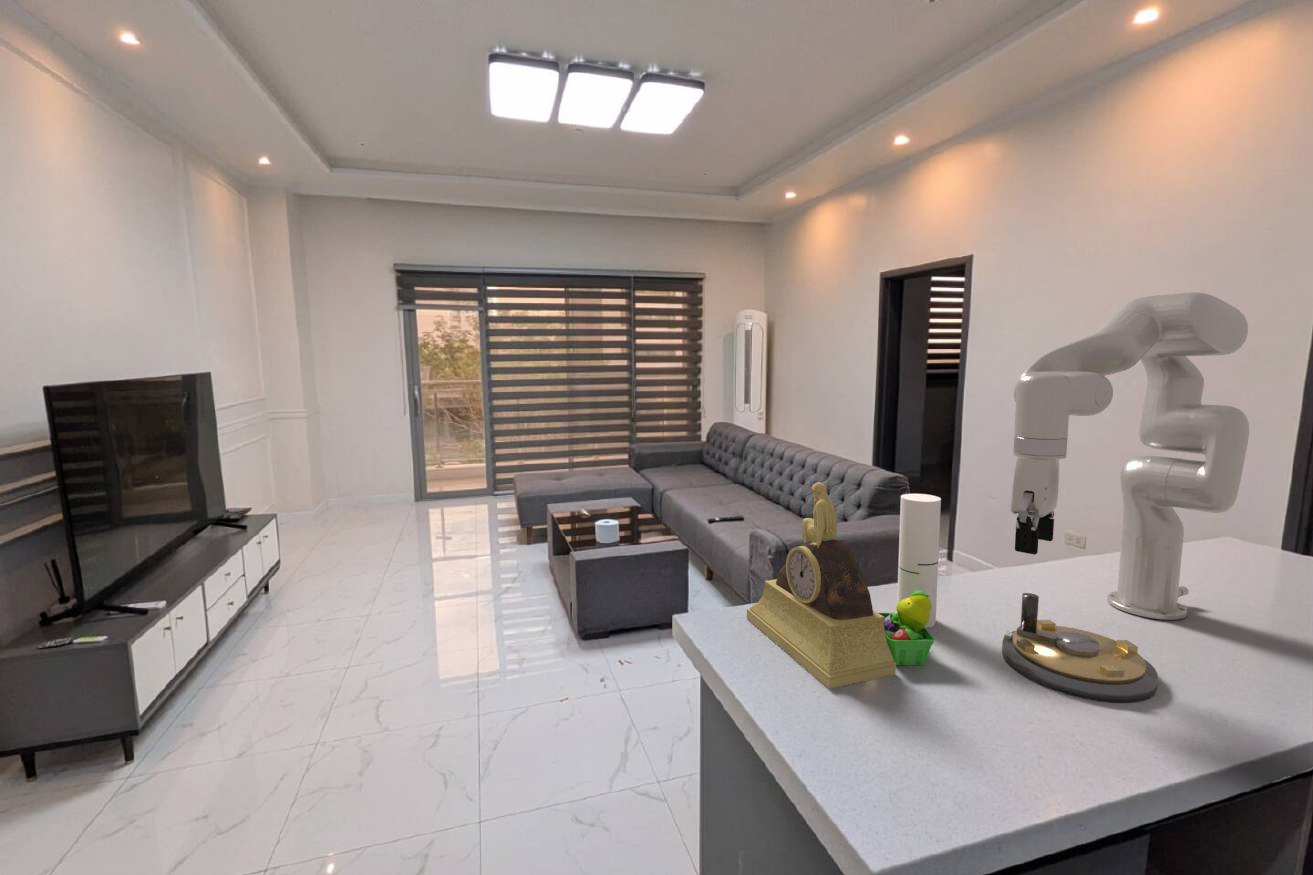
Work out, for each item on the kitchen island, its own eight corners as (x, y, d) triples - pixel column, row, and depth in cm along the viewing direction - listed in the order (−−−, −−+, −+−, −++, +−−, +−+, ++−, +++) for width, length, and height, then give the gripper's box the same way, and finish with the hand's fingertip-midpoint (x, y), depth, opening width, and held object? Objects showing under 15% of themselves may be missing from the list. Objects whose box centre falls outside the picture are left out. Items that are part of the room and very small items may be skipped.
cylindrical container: (939, 629, 113) (945, 502, 110) (900, 626, 114) (905, 501, 111) (930, 613, 120) (935, 494, 117) (893, 611, 121) (897, 493, 118)
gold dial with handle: (992, 630, 107) (994, 586, 106) (1093, 631, 106) (1097, 587, 105) (1053, 683, 89) (1057, 631, 88) (1176, 684, 88) (1181, 632, 87)
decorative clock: (746, 618, 119) (747, 473, 116) (801, 609, 123) (803, 469, 120) (829, 689, 93) (833, 504, 89) (895, 675, 97) (901, 497, 93)
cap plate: (1059, 631, 111) (1060, 618, 111) (1189, 687, 91) (1191, 671, 91) (973, 649, 104) (974, 635, 104) (1094, 714, 85) (1095, 697, 84)
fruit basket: (867, 638, 110) (868, 580, 108) (915, 638, 109) (917, 580, 108) (889, 669, 98) (891, 605, 97) (942, 669, 98) (945, 605, 97)
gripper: (1028, 440, 107) (1023, 531, 109) (998, 451, 95) (993, 553, 98) (1078, 443, 102) (1072, 538, 104) (1052, 456, 90) (1046, 563, 92)
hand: (1034, 545), depth 101 cm, fingers open, 9 cm apart
